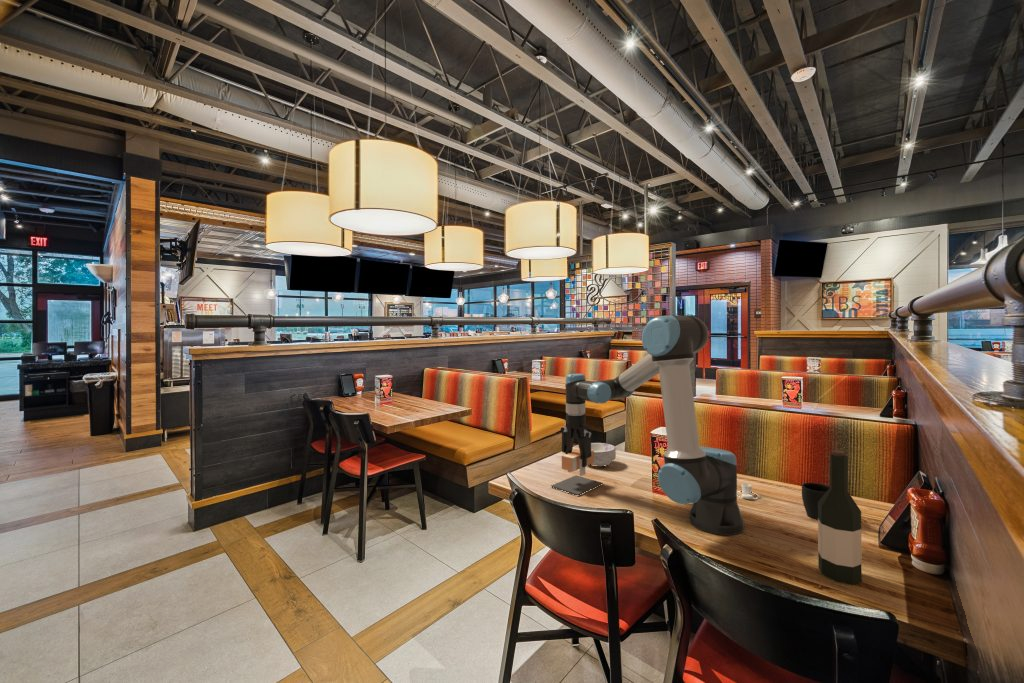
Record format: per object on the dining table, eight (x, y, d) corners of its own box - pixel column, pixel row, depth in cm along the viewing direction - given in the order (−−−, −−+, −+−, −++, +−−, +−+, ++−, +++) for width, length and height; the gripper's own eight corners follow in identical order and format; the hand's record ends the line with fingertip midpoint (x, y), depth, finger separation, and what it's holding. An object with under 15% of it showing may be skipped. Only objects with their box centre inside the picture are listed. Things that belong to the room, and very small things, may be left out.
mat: (602, 484, 165) (602, 482, 165) (578, 496, 153) (578, 494, 153) (576, 477, 174) (576, 475, 174) (550, 487, 163) (550, 485, 163)
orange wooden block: (593, 450, 167) (572, 458, 158) (594, 463, 167) (572, 471, 158) (583, 448, 171) (561, 455, 161) (583, 460, 171) (561, 468, 161)
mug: (841, 530, 124) (841, 498, 124) (796, 515, 134) (796, 485, 134) (853, 523, 128) (853, 492, 128) (809, 509, 139) (809, 480, 138)
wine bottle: (858, 589, 96) (858, 459, 95) (814, 574, 102) (813, 452, 101) (864, 574, 102) (863, 451, 101) (821, 561, 108) (821, 445, 107)
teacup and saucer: (752, 503, 145) (752, 491, 145) (729, 496, 152) (728, 485, 152) (763, 496, 151) (763, 485, 151) (740, 490, 157) (740, 479, 157)
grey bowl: (575, 461, 194) (574, 444, 194) (602, 457, 200) (602, 440, 200) (594, 471, 180) (593, 453, 180) (623, 466, 186) (622, 448, 186)
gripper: (600, 415, 159) (601, 476, 160) (563, 409, 172) (564, 465, 173) (589, 418, 154) (590, 481, 155) (551, 412, 167) (552, 470, 168)
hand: (576, 473), depth 164 cm, fingers closed on orange wooden block, 5 cm apart
